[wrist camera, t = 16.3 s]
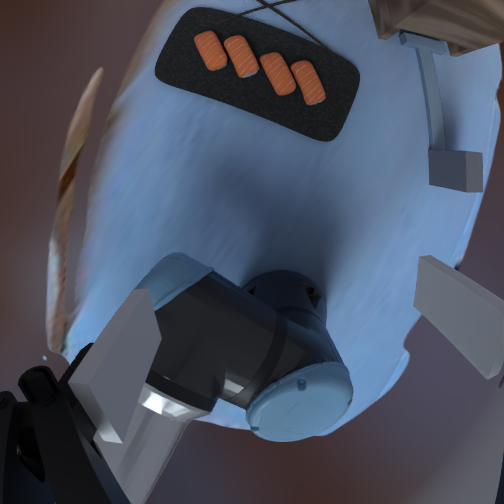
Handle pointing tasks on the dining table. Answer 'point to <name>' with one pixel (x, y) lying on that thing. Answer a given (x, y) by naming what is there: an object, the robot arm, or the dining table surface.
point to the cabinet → (443, 21)
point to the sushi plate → (260, 70)
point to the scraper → (442, 126)
